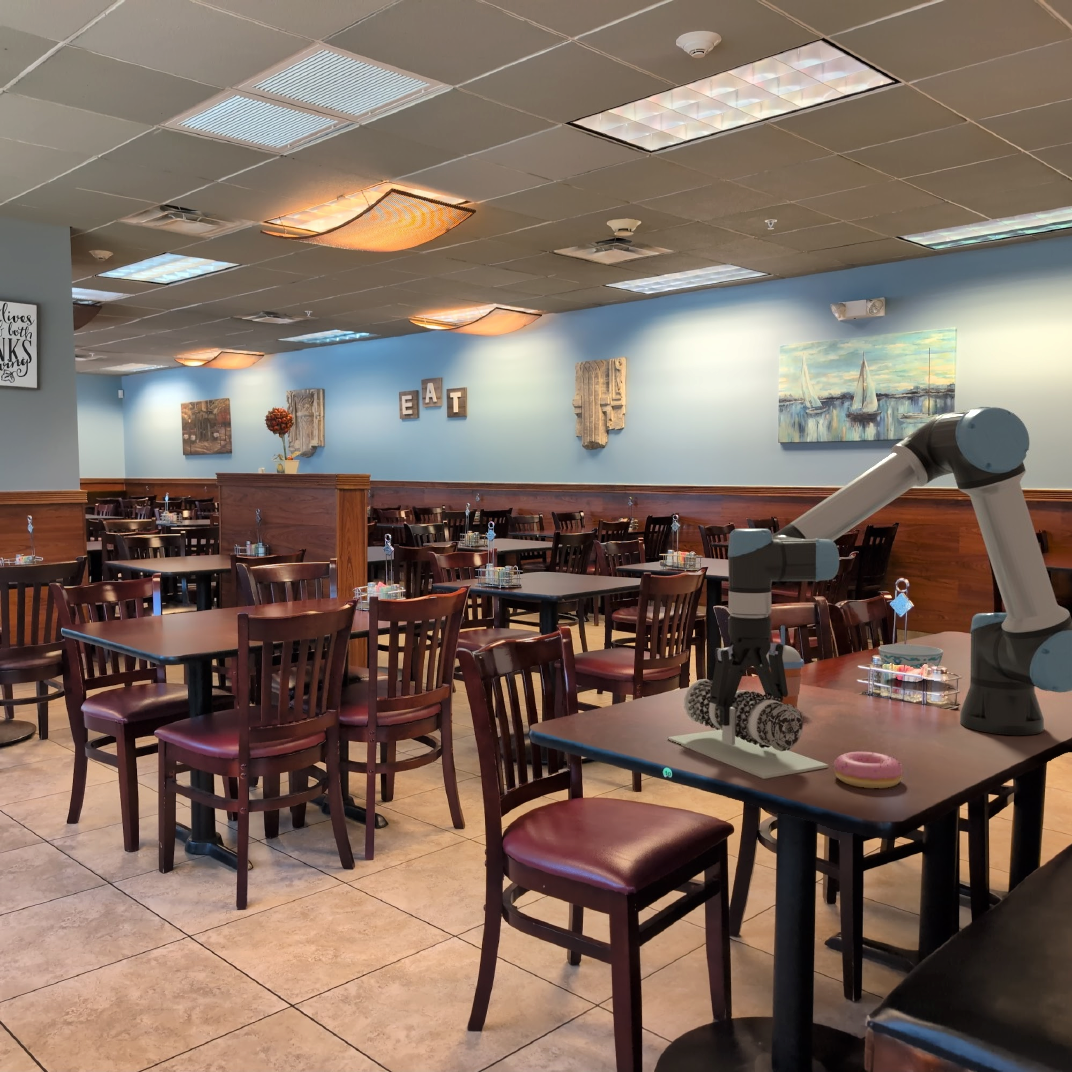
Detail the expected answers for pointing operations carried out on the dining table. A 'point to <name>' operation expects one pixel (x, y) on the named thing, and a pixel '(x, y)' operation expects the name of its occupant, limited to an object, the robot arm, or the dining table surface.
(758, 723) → the decorative candle
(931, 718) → the dining table surface
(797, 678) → the cup with straw
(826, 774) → the dining table surface
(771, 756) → the sage rubber mat
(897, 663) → the chinaware
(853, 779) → the doughnut
